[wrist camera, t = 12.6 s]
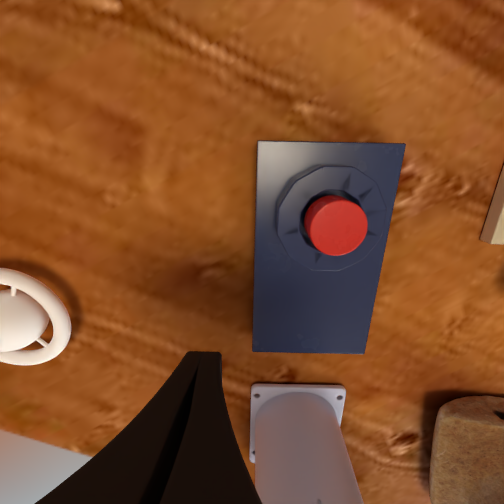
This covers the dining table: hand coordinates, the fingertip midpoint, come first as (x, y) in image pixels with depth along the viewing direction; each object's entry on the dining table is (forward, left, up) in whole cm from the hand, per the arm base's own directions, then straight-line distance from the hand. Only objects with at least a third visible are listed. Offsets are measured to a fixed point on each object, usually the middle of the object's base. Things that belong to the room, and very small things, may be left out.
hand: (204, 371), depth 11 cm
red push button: (+5, -6, -6) cm, 10 cm away
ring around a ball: (-3, +15, -10) cm, 18 cm away
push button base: (+2, -6, -9) cm, 11 cm away
